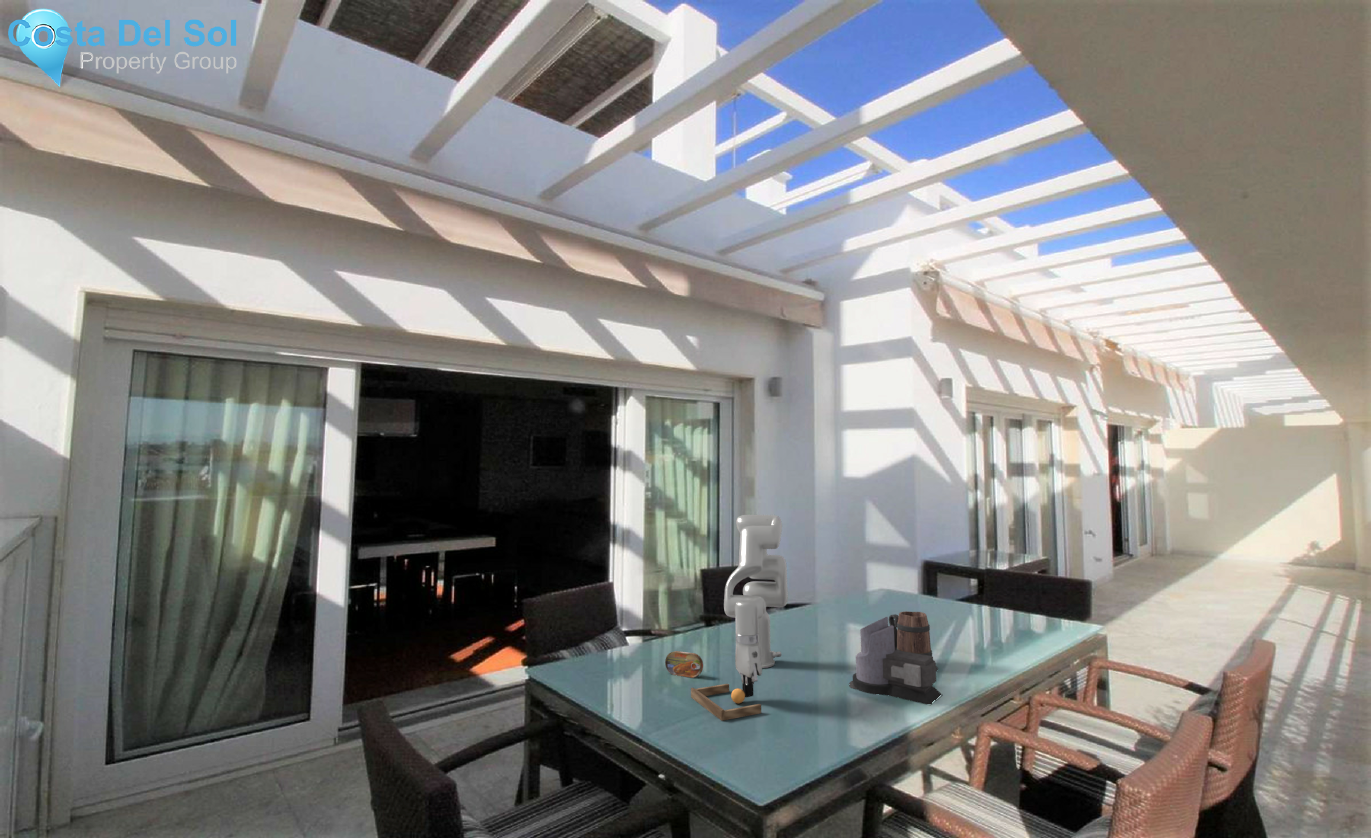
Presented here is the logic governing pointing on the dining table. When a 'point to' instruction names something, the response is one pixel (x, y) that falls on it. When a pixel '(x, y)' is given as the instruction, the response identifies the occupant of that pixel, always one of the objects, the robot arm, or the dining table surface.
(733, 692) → the ball
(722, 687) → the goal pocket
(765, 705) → the dining table surface
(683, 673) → the tin
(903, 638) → the tankard
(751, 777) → the dining table surface
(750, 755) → the dining table surface
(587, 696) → the dining table surface
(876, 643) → the juicer
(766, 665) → the robot arm
